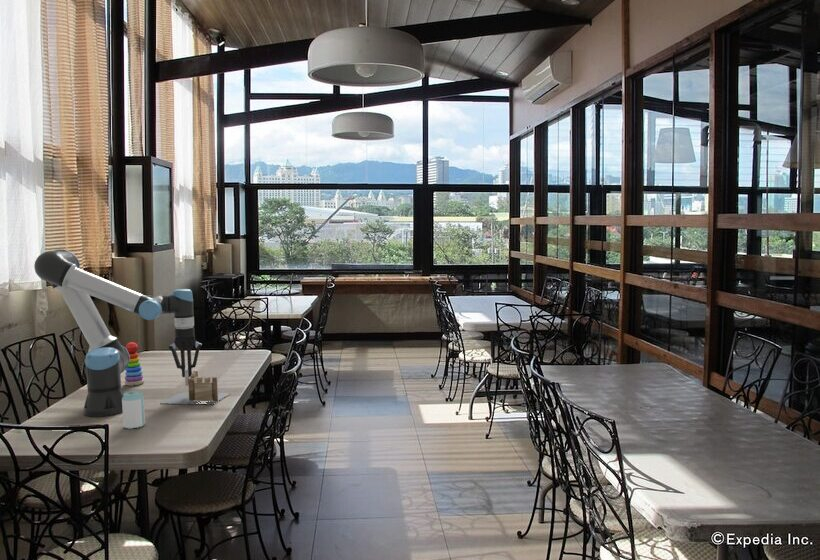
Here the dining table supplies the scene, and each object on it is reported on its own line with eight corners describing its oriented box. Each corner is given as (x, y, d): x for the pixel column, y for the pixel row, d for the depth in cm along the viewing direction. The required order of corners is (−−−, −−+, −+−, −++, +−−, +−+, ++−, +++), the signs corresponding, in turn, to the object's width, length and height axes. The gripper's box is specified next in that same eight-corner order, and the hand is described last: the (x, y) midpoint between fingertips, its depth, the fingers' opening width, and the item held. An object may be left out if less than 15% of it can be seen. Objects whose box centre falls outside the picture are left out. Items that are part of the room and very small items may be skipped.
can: (119, 429, 232) (117, 395, 231) (131, 423, 239) (129, 390, 238) (137, 430, 231) (135, 396, 230) (149, 423, 238) (147, 390, 237)
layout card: (212, 405, 260) (212, 403, 260) (160, 404, 263) (160, 402, 263) (230, 394, 276) (230, 393, 276) (180, 393, 279) (180, 392, 279)
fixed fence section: (216, 402, 264) (215, 378, 263) (188, 401, 266) (186, 377, 265) (219, 400, 266) (217, 376, 265) (191, 400, 268) (189, 376, 267)
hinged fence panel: (190, 398, 268) (189, 376, 267) (194, 392, 277) (193, 371, 276) (195, 398, 268) (194, 375, 267) (199, 392, 277) (198, 370, 276)
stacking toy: (147, 381, 301) (145, 340, 299) (138, 386, 293) (136, 344, 291) (130, 381, 302) (128, 340, 300) (121, 386, 294) (118, 344, 292)
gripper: (166, 329, 266) (169, 388, 268) (200, 328, 269) (203, 385, 271) (169, 326, 273) (172, 383, 275) (202, 325, 276) (204, 381, 278)
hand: (187, 384), depth 273 cm, fingers closed
